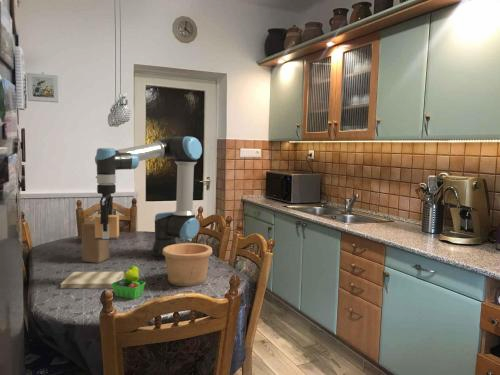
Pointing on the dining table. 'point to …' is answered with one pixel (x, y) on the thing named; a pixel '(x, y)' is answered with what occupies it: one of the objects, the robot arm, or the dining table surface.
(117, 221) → the block
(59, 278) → the gray square block
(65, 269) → the dining table surface
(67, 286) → the birch board
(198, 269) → the pottery
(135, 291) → the fruit basket
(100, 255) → the wooden block
